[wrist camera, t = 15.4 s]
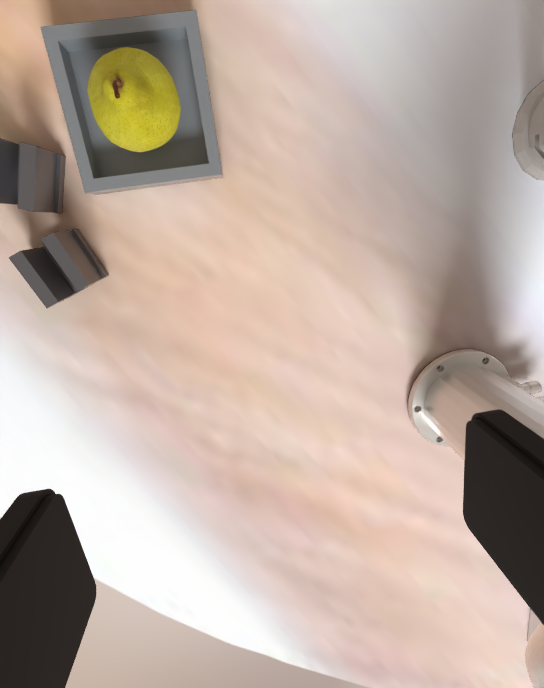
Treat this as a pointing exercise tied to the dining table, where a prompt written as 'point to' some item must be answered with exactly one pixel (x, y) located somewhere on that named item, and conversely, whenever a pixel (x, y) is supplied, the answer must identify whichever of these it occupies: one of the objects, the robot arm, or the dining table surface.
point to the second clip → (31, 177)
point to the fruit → (134, 99)
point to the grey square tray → (192, 87)
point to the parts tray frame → (532, 624)
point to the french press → (531, 133)
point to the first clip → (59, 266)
